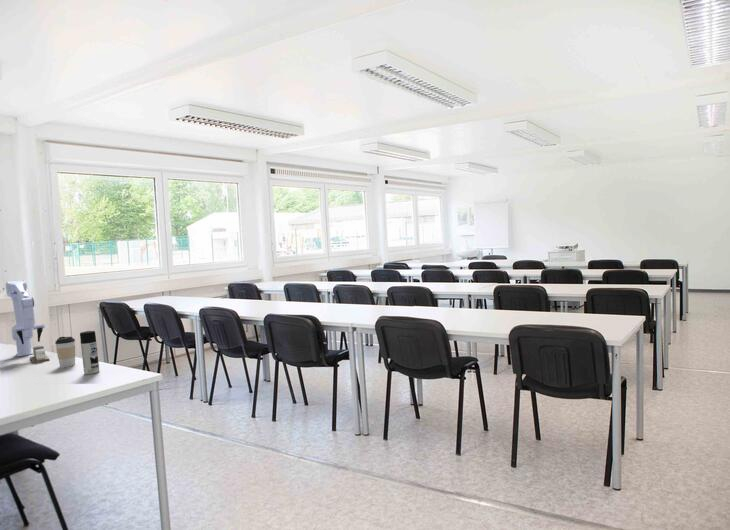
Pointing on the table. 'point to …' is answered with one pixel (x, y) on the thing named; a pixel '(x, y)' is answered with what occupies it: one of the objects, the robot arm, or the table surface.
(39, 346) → the block
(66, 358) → the coffee cup
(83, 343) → the spray can
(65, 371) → the table surface
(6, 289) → the robot arm
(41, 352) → the cream blocky elongated piece
